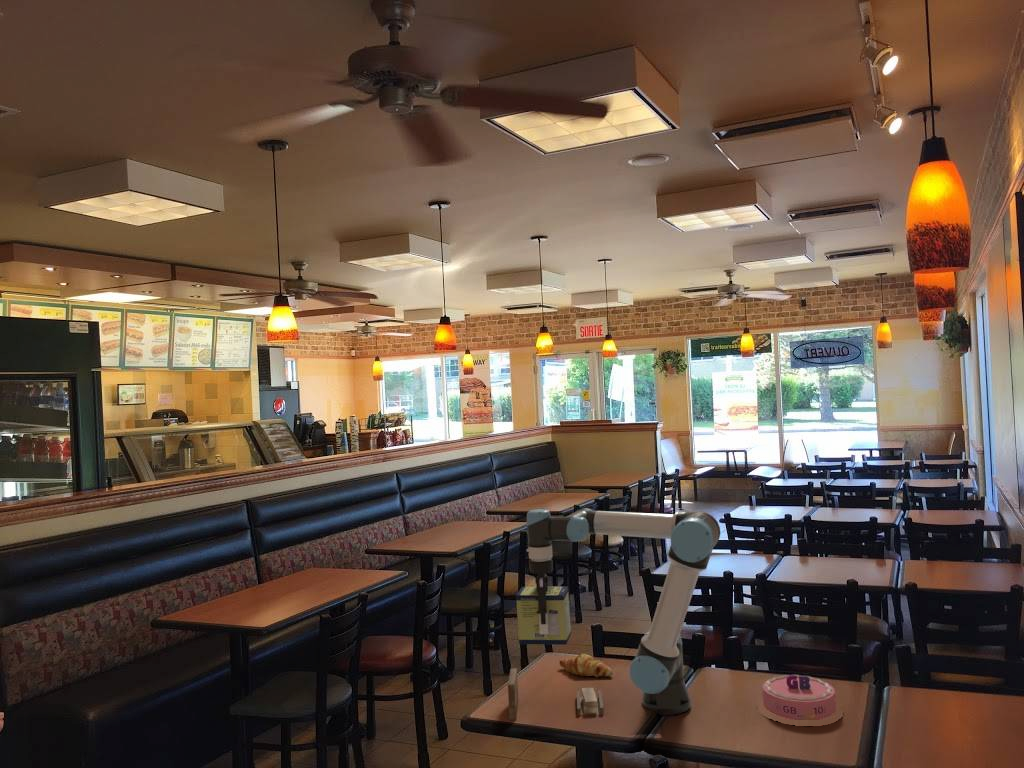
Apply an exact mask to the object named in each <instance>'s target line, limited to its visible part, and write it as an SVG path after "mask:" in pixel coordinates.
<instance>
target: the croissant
mask: <svg viewBox="0 0 1024 768" xmlns="http://www.w3.org/2000/svg"><path fill="white" fill-rule="evenodd" d="M559 665H560V667H561V668H563V669H564V670H565V671H566V672H567V673H569V672H570V673H569V674H572V675H574V674H575V675H574V676H577V675H580V676H579V677H582V676H587V677H586V678H589V677H588V676H595V677H594V678H600V677H599V676H601V677H604V678H606V677H607V678H608V677H611V676H613V674H614V673H613V670H612V669H611V668H610V667H609V665H607V664H605V663H604V662H603V661H602V659H595V658H594V657H593V656H591V655H590V654H587V653H579V654H578V655H577V656H575V655H574V656H572V657H571V658H565V659H564V660H563V659H560V660H559Z"/></svg>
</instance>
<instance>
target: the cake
mask: <svg viewBox="0 0 1024 768" xmlns="http://www.w3.org/2000/svg"><path fill="white" fill-rule="evenodd" d="M761 689H762V690H761V692H762V694H761V695H762V698H763V705H764V707H765V708H766V709H767V710H769V711H770V712H772V713H774V714H776V715H778V716H781V717H785V718H789V719H792V720H793V719H794V720H820V719H823V718H826V717H829V716H831V715H832V714H833V713H835V711H836V703H837V697H836V696H837V695H836V691H835V688H834V687H833V686H832V685H831V684H829V683H828V682H826V681H823V680H821V679H820V678H816V677H812V676H811V675H810V676H809V675H800V674H783V675H780V676H774V677H773V678H772V677H771V678H769V679H767V680H766V681H765V682H763V684H762V687H761Z"/></svg>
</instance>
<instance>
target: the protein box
mask: <svg viewBox="0 0 1024 768" xmlns="http://www.w3.org/2000/svg"><path fill="white" fill-rule="evenodd" d="M547 588H548V591H547V592H546V605H547V615H548V632H549V634H540V629H539V614H537V613H536V611H538V610H539V609H538V592H537V588H536V586H522V587H521V588H520V589H519V590H518V591H517V593H516V595H515V597H516V598H515V600H516V612H517V613H516V614H517V615H516V617H517V631H518V633H517V634H518V645H553V646H554V645H558V646H559V645H561V646H563V645H564V646H566V645H568V642H569V639H571V638H570V637H571V635H572V630H571V629H572V628H571V627H572V626H571V615H570V601H569V600H570V599H569V598H570V597H569V587H568V586H548V587H547ZM542 609H544V608H542Z"/></svg>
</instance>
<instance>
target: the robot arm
mask: <svg viewBox="0 0 1024 768" xmlns="http://www.w3.org/2000/svg"><path fill="white" fill-rule="evenodd" d="M526 513H527V514H526V533H527V546H528V548H527V549H526V553H528V558H529V560H528V566H529V568H528V569H529V570H528V571H529V572H530V573H532V574H537V576H535V585H536V586H535V587H536V588H537V592H538V609H539V610H538V611H536V613H537V614H539V629H540V634H549V632H548V615H547V605H546V592H547V591H548V588H547V587H549V576H548V575H547V573H548V574H549V573H551V572H552V571H554V565H553V564H554V562H553V559H552V558H553V544H552V541H553V542H556V541H557V542H573V543H577V542H584V541H587V539H588V536H589V535H605V536H606V535H607V536H618V537H621V536H622V537H637V538H651V539H652V538H653V539H664V540H665V539H666V540H670V547H669V549H668V553H667V557H668V559H669V560H670V563H669V567H668V570H667V573H666V577H665V579H664V584H663V586H662V590H661V593H660V596H659V600H658V603H657V605H656V608H655V612H654V616H653V618H652V622H651V625H650V628H649V631H647V632H645V633H644V635H643V636H642V637H641V640H640V643H639V645H638V648H637V652H636V654H635V657H634V658H633V659H632V660H631V663H630V666H629V667H630V668H629V675H630V676H629V677H630V679H631V681H632V683H633V684H634V686H635V687H636V688H637V689H638V690H640V691H642V697H641V705H642V706H643V707H644V708H645V709H648V710H649V711H652V712H655V713H656V715H659V716H660V715H661V716H675V715H674V714H677V715H679V714H678V713H682V712H685V711H687V710H688V709H689V708H690V707H692V701H691V697H690V696H691V695H690V694H689V691H688V687H687V685H686V683H685V677H684V675H685V674H684V657H683V654H684V653H683V641H682V639H683V638H682V636H681V632H682V628H683V625H684V621H685V618H686V615H687V613H688V610H689V607H690V603H691V600H692V597H693V594H694V590H695V589H696V584H697V581H698V578H699V575H700V573H701V572H703V571H705V570H707V569H708V564H709V562H710V558H711V556H712V552H713V550H714V547H715V546H716V545H717V544H718V542H719V540H720V537H721V527H720V524H719V522H718V521H717V519H716V518H715V517H714V516H713V515H711V514H710V513H708V512H705V511H680V510H679V511H676V512H675V513H672V514H669V513H650V512H649V513H648V512H647V513H646V512H629V511H628V512H627V511H626V512H625V511H624V512H623V511H607V510H593V509H591V508H588V507H587V508H586V507H585V508H580V509H577V510H576V511H575V512H573V513H570V514H569V515H566V516H552V515H551V511H550V510H549V509H544V508H540V509H539V508H537V509H531V510H529V511H527V512H526ZM542 608H544V609H542ZM690 709H691V708H690ZM690 709H689V710H690ZM689 710H688V711H689ZM688 711H687V712H688ZM685 713H686V712H685ZM682 714H683V713H682Z"/></svg>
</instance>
